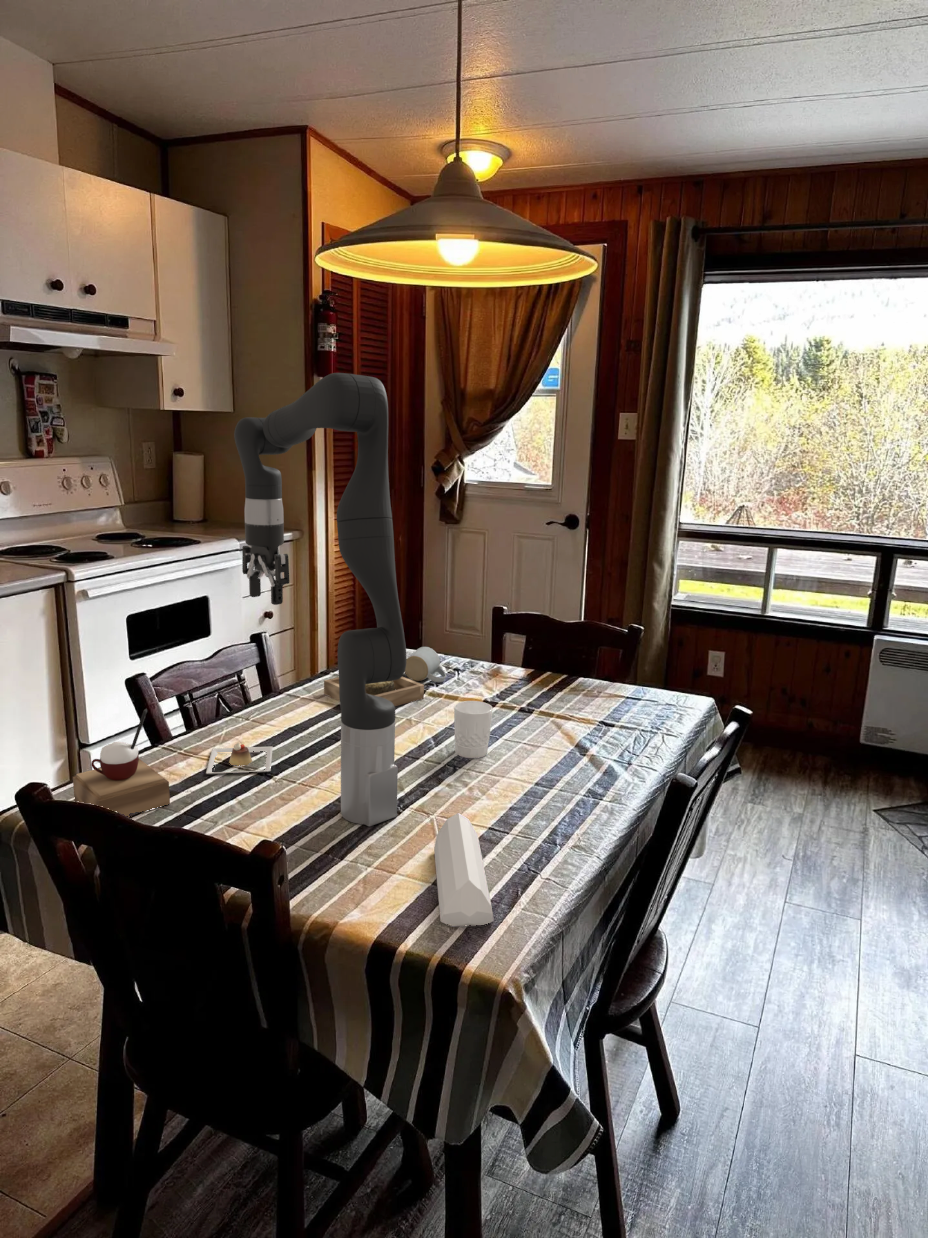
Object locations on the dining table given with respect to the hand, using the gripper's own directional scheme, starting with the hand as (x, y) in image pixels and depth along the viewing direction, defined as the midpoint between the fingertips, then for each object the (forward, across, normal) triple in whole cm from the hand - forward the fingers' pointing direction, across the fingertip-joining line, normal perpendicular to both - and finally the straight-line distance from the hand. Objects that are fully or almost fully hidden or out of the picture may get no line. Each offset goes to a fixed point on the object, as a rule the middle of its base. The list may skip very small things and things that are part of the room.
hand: (265, 600), depth 171 cm
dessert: (+31, -7, +10) cm, 33 cm away
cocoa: (+25, -10, +35) cm, 44 cm away
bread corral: (+30, +8, -34) cm, 46 cm away
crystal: (+31, -68, +7) cm, 74 cm away
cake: (+31, +11, -37) cm, 49 cm away
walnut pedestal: (+30, -10, +35) cm, 47 cm away
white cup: (+30, -32, -29) cm, 53 cm away
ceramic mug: (+30, +11, -54) cm, 63 cm away
